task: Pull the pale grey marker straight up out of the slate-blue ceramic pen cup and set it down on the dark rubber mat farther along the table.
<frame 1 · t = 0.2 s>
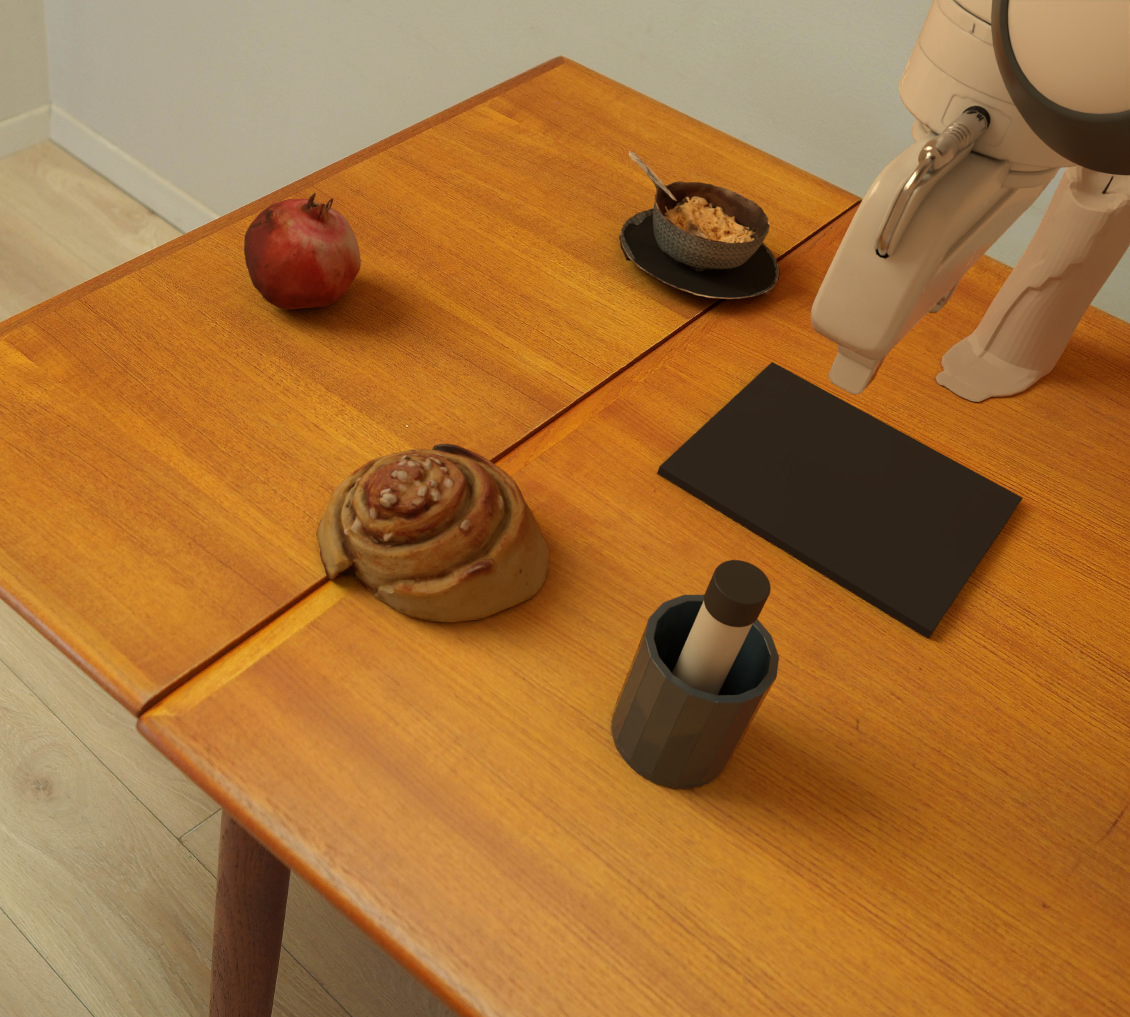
hand: (889, 341, 58), 25 cm above the table, tool pointing down, fingers open, 8 cm apart
soup bowl: (691, 261, 107), on the table
fruit: (301, 297, 96), on the table
mat: (840, 489, 87), on the table
pastry: (430, 552, 78), on the table
candle: (992, 367, 101), on the table
pen cup: (670, 735, 70), on the table
marker: (673, 729, 70), point 1 cm above the table, touching pen cup
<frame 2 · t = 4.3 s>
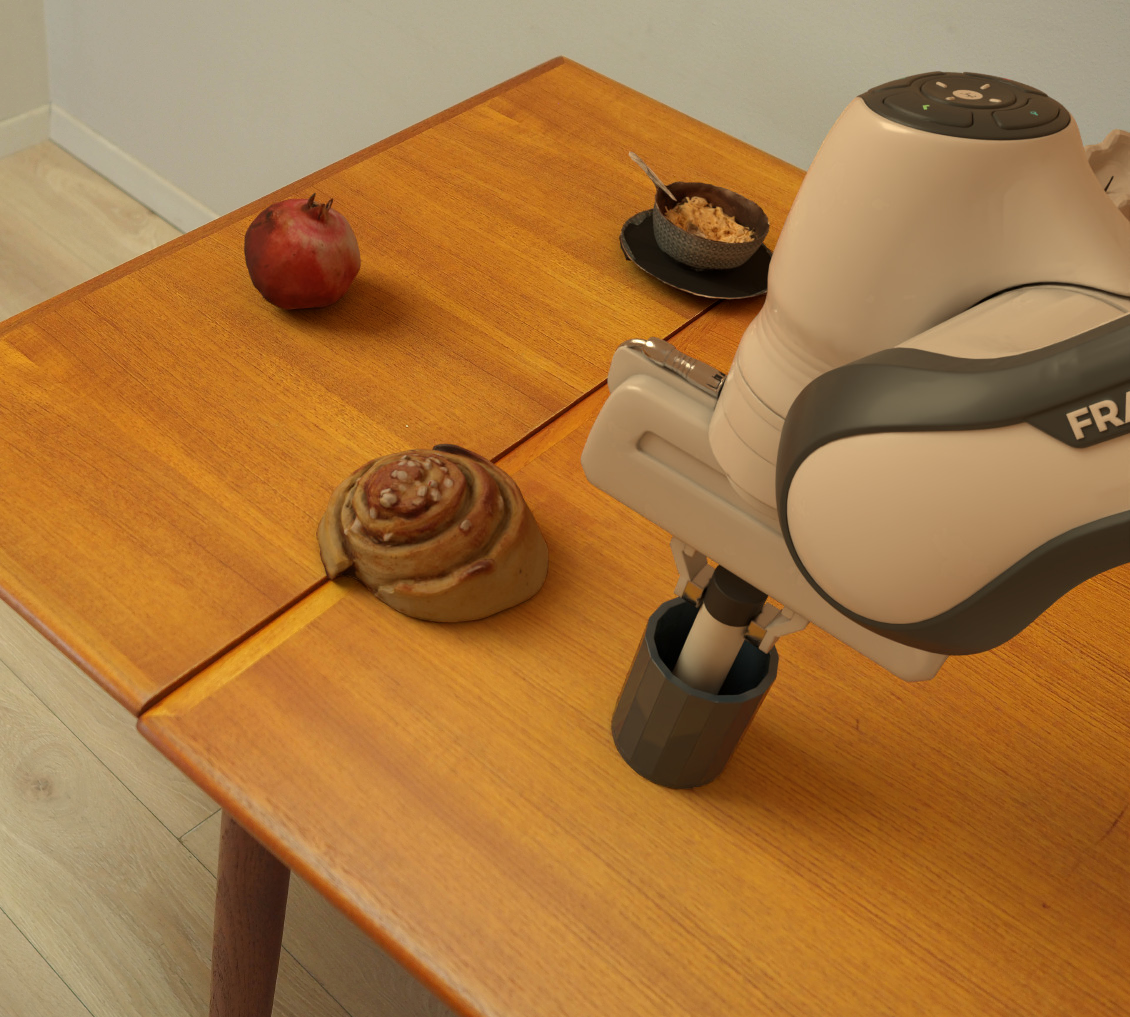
hand: (726, 617, 62), 12 cm above the table, tool pointing down, fingers closed on marker, 3 cm apart
marker: (673, 729, 70), point 1 cm above the table, touching gripper, pen cup
everything else where it was.
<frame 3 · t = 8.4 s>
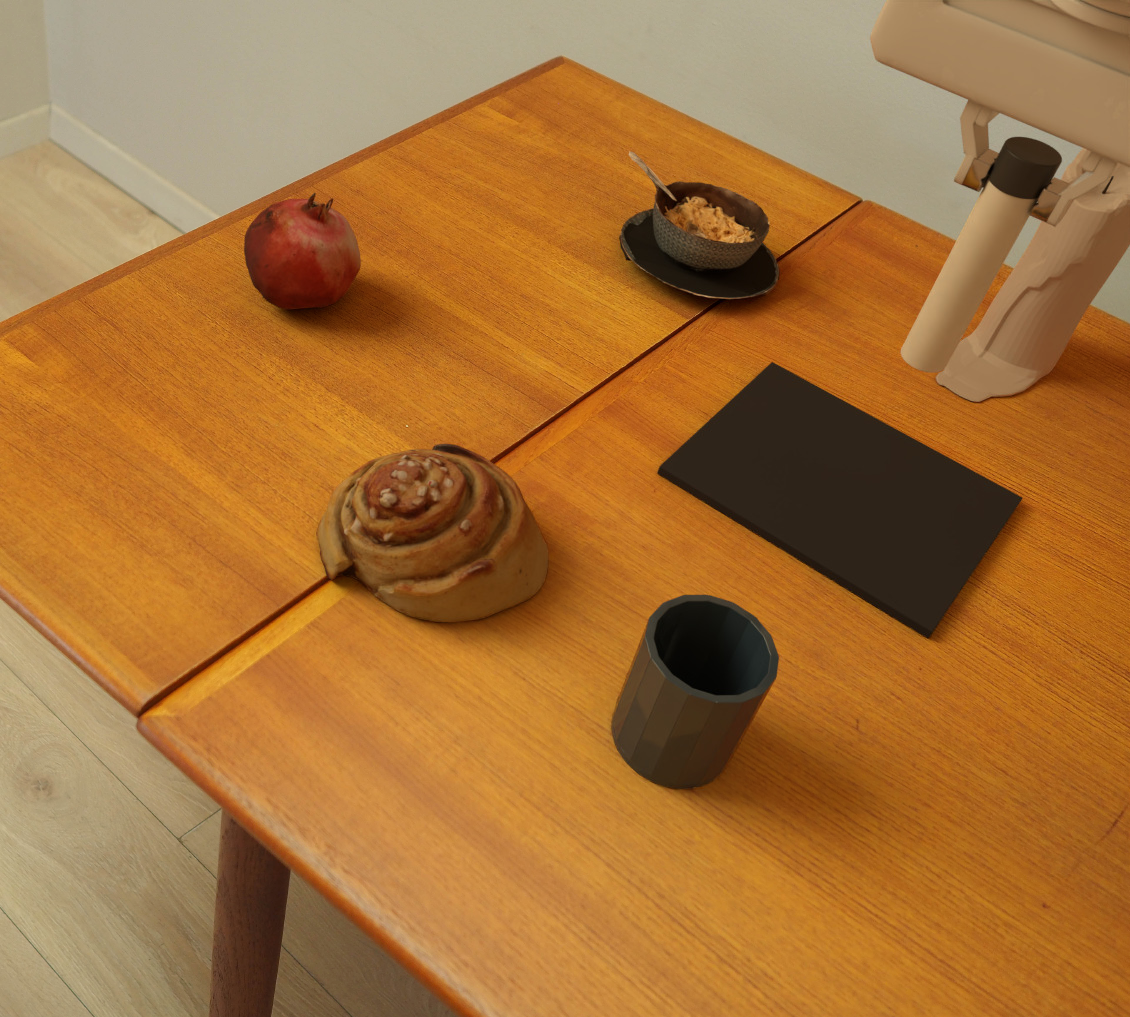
hand: (1007, 201, 63), 28 cm above the table, tool pointing down, fingers closed on marker, 3 cm apart
marker: (922, 358, 70), point 17 cm above the table, touching gripper
everything else where it was.
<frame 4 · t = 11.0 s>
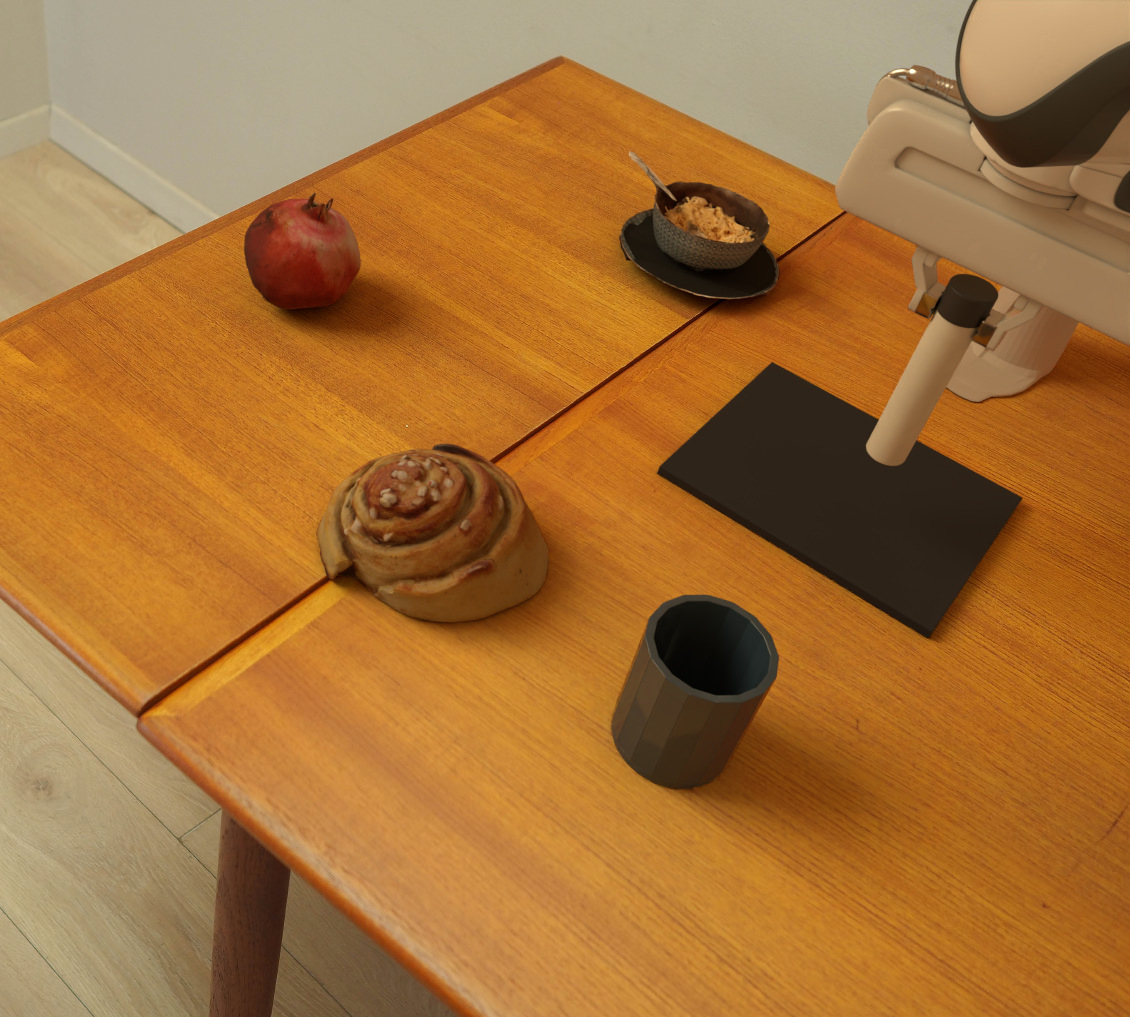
hand: (953, 327, 73), 18 cm above the table, tool pointing down, fingers closed on marker, 3 cm apart
marker: (885, 452, 81), point 7 cm above the table, touching gripper
everything else where it was.
when the fingers open (12 cm above the table, at t = 12.7 s): marker stays where it is, resting on mat.
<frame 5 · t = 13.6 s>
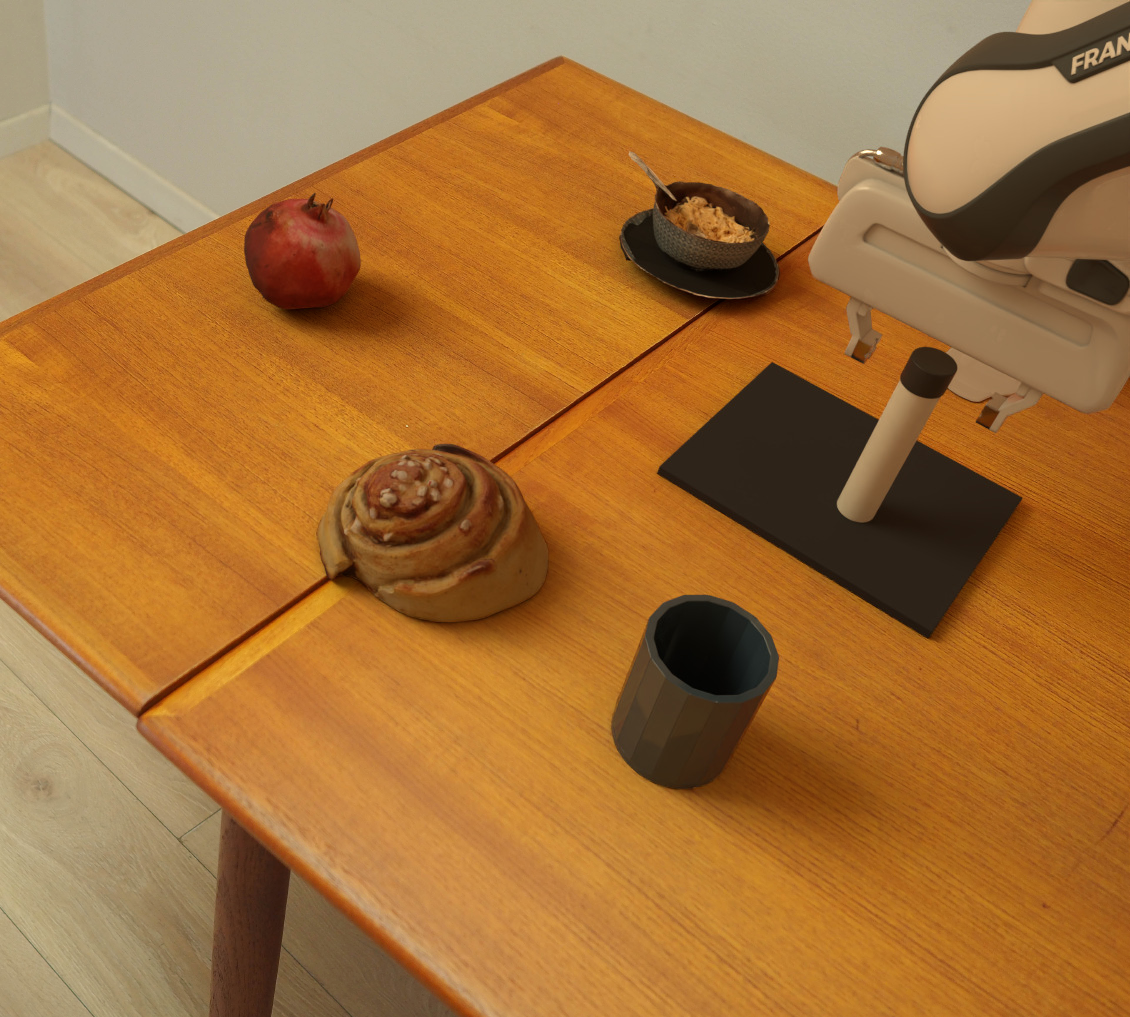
hand: (921, 389, 76), 12 cm above the table, tool pointing down, fingers open, 8 cm apart
marker: (855, 508, 85), point 1 cm above the table, touching mat
everything else where it was.
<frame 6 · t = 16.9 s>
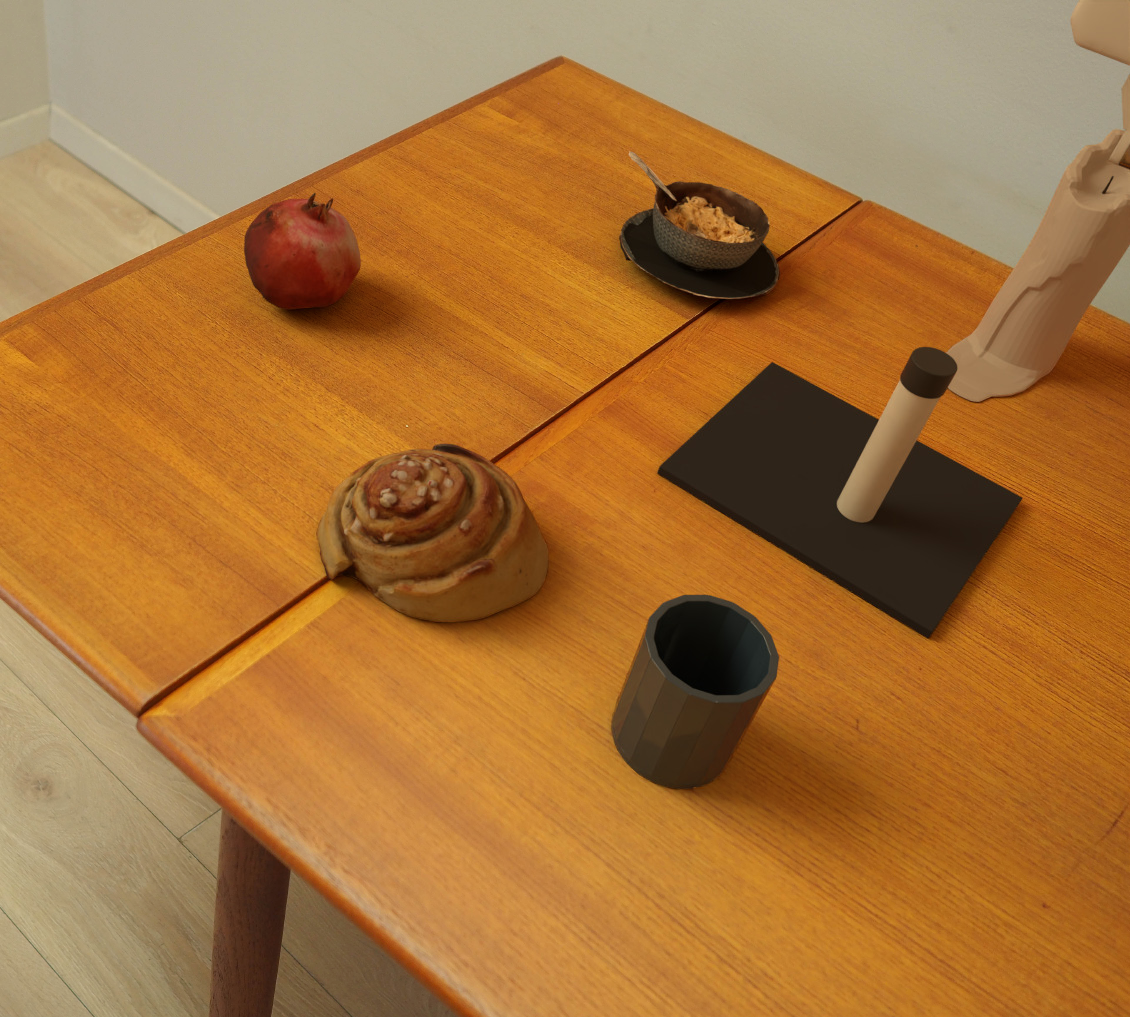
nothing on the table moved.
at the end: marker inside the target area on the mat (2.8 cm from its centre), point 0.8 cm above the mat's base; marker touching mat; the gripper is holding nothing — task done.
